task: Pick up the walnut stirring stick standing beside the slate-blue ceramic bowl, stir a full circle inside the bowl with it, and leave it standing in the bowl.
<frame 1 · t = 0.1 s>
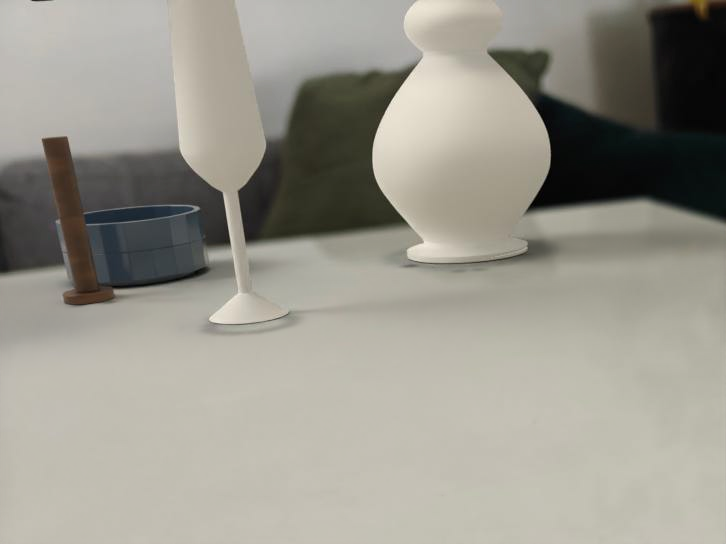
decorative vase: (467, 254, 117), on the table
bowl: (140, 275, 117), on the table
champagne flute: (249, 317, 95), on the table
stirring stick: (89, 299, 106), on the table
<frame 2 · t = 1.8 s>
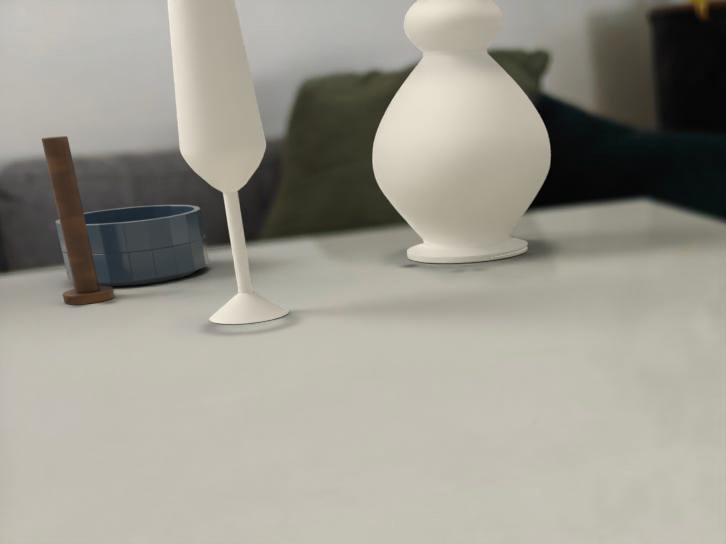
nothing on the table moved.
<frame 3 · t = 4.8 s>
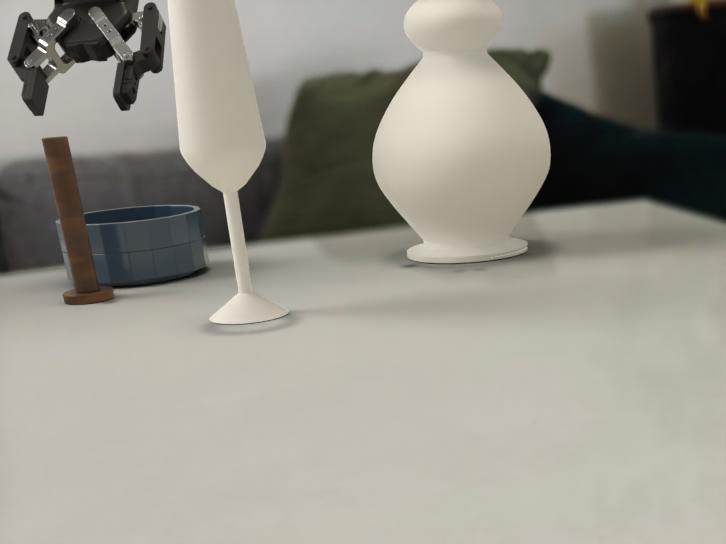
hand: (77, 107, 104), 16 cm above the table, tool tilted 45°, fingers open, 8 cm apart
nothing on the table moved.
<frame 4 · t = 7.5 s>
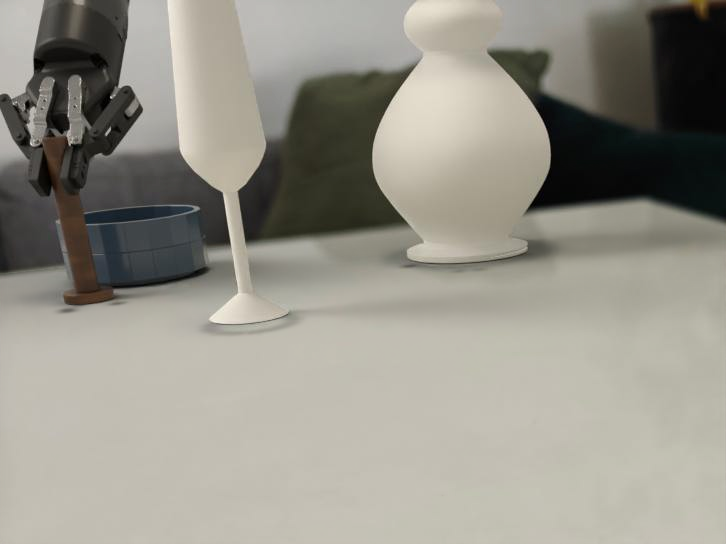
hand: (54, 189, 100), 10 cm above the table, tool tilted 45°, fingers closed on stirring stick
stirring stick: (89, 299, 106), on the table, touching gripper
everything else where it was.
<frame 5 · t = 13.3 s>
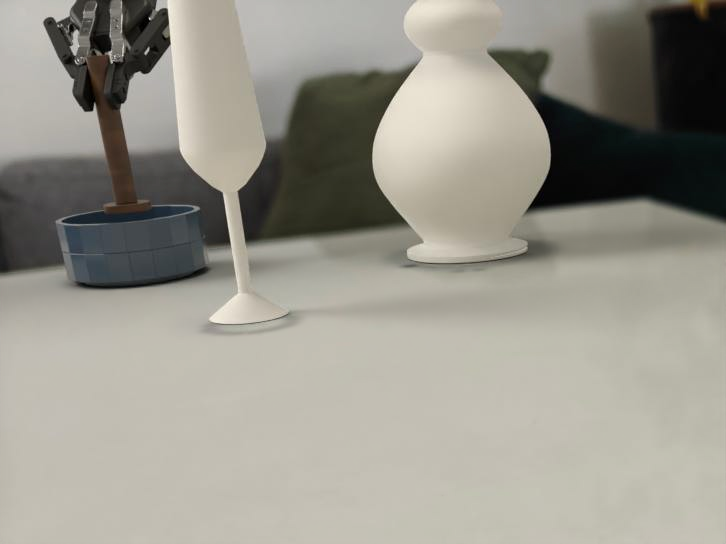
hand: (98, 104, 107), 16 cm above the table, tool tilted 45°, fingers closed on stirring stick
stirring stick: (128, 211, 114), point 6 cm above the table, touching gripper
everything else where it was.
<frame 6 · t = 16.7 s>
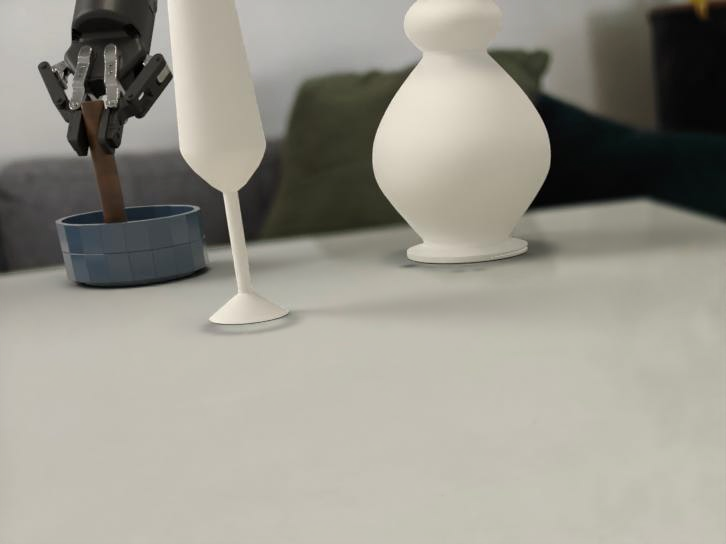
hand: (92, 149, 108), 12 cm above the table, tool tilted 45°, fingers closed on stirring stick
stirring stick: (122, 253, 114), point 2 cm above the table, touching gripper
everything else where it was.
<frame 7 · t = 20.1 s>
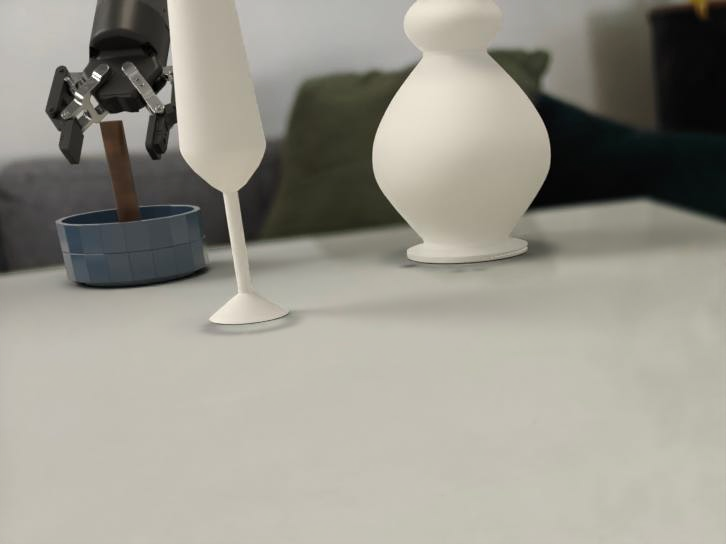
hand: (111, 156, 110), 12 cm above the table, tool tilted 45°, fingers open, 8 cm apart
stirring stick: (139, 269, 116), point 1 cm above the table, touching bowl
everything else where it was.
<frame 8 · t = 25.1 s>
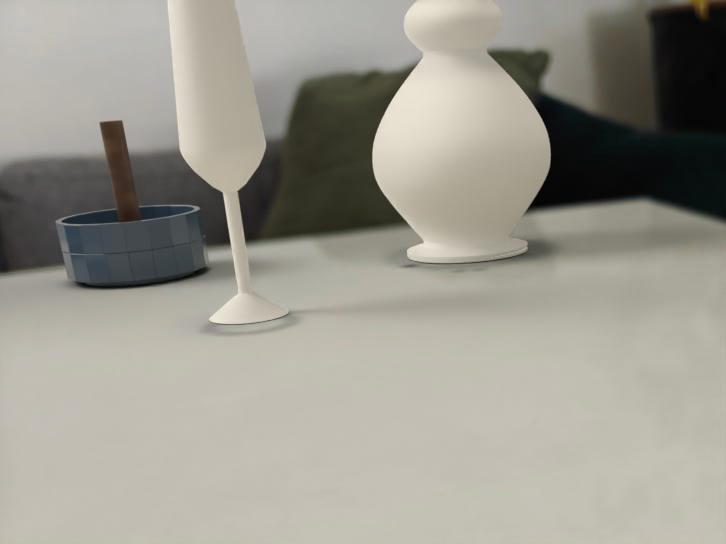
nothing on the table moved.
at the end: stirring stick inside the target area in the bowl (0.1 cm from its centre), point 0.6 cm above the bowl's base; stirring stick tilted 0°; champagne flute moved 0.2 cm from its start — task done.
